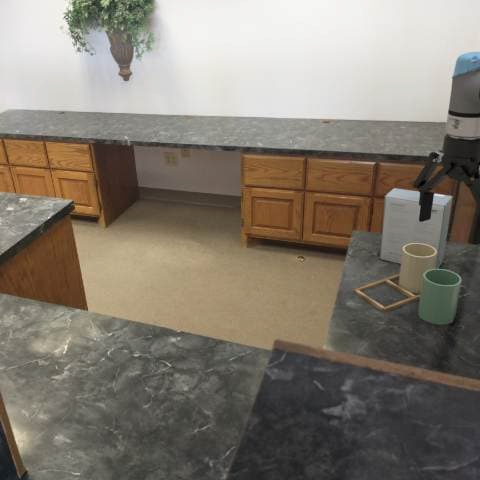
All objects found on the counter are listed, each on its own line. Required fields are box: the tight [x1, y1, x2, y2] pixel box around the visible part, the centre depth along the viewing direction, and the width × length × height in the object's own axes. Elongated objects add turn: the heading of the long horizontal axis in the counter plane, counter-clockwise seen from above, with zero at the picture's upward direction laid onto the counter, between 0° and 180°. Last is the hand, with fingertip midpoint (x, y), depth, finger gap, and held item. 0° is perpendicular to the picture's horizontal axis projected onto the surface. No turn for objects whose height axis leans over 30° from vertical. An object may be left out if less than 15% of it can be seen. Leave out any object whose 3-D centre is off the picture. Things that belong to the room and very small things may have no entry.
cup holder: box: [353, 273, 421, 314], centre depth 131 cm, size 11×20×2 cm, turn 112°
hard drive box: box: [379, 187, 454, 269], centre depth 142 cm, size 16×8×20 cm, turn 49°
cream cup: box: [398, 243, 437, 295], centre depth 130 cm, size 8×8×12 cm
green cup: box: [417, 268, 462, 326], centre depth 118 cm, size 8×8×12 cm
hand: (450, 231), depth 110 cm, fingers open, 13 cm apart
